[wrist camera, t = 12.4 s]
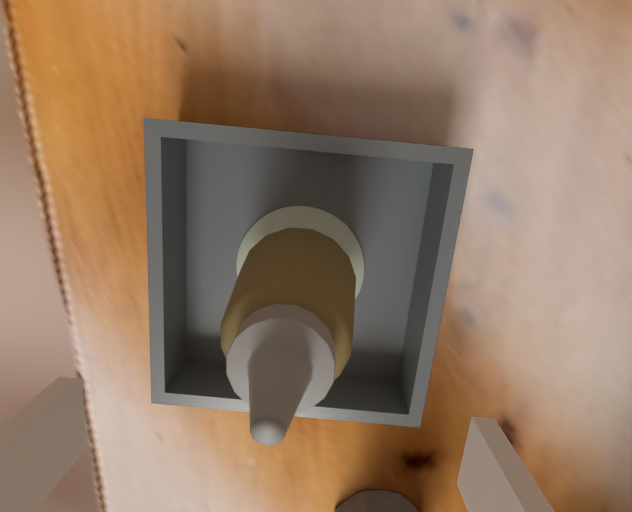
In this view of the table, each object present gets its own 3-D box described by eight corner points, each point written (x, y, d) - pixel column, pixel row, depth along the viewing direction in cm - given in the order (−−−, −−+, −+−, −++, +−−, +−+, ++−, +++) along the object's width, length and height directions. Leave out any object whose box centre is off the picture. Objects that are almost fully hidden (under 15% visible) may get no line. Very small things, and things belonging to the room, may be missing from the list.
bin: (404, 384, 34) (420, 427, 28) (178, 363, 33) (151, 403, 28) (445, 149, 28) (473, 148, 23) (177, 124, 28) (143, 117, 23)
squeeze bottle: (229, 251, 29) (92, 388, 12) (319, 198, 28) (312, 266, 11) (283, 334, 31) (232, 560, 14) (371, 287, 30) (436, 470, 13)
